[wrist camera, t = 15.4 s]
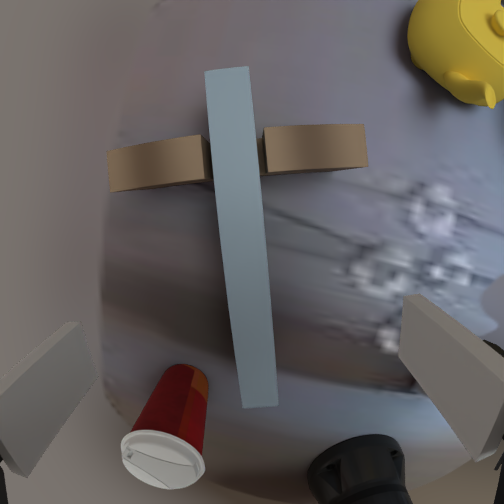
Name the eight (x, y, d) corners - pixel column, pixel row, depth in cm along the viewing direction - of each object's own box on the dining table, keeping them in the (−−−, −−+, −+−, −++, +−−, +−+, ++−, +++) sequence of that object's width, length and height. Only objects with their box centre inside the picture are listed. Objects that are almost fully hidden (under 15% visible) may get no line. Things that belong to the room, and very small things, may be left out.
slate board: (219, 104, 29) (204, 71, 19) (250, 101, 29) (248, 66, 19) (245, 351, 34) (242, 408, 24) (272, 349, 34) (278, 405, 24)
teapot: (373, 95, 28) (431, 56, 16) (413, -18, 24) (457, -65, 12) (466, 157, 29) (540, 154, 17) (492, 40, 25) (548, 14, 13)
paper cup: (145, 387, 35) (107, 467, 22) (170, 344, 34) (130, 426, 20) (201, 415, 36) (183, 501, 23) (230, 376, 35) (219, 467, 21)
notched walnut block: (330, 141, 29) (363, 124, 20) (333, 171, 30) (368, 166, 20) (149, 159, 30) (106, 151, 20) (152, 188, 30) (110, 192, 21)
